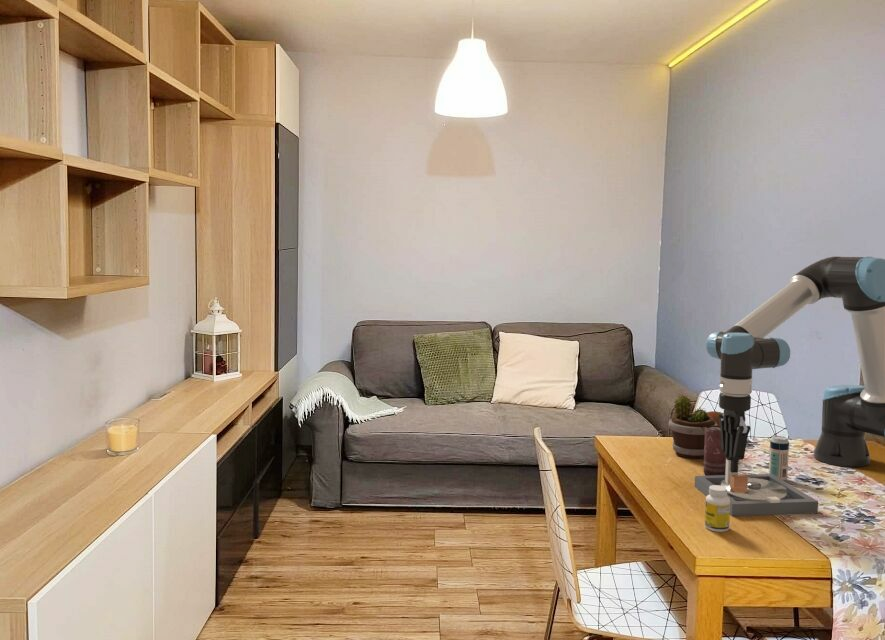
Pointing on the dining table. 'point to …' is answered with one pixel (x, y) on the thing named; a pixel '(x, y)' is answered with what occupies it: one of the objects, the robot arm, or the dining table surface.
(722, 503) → the supplement bottle
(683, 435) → the flowerpot
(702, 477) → the dial plate
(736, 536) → the dining table surface
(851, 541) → the dining table surface
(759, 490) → the dial
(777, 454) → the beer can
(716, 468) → the can
